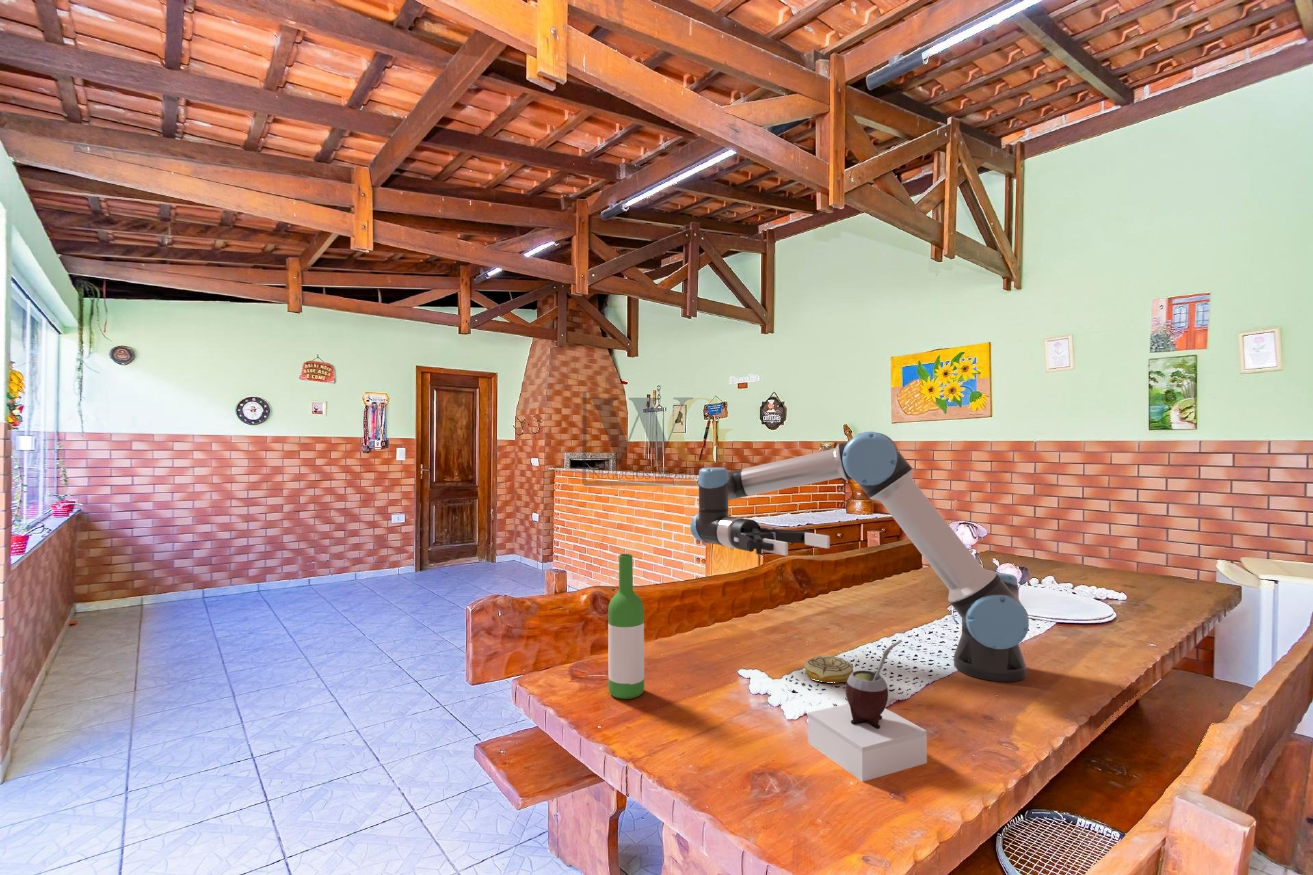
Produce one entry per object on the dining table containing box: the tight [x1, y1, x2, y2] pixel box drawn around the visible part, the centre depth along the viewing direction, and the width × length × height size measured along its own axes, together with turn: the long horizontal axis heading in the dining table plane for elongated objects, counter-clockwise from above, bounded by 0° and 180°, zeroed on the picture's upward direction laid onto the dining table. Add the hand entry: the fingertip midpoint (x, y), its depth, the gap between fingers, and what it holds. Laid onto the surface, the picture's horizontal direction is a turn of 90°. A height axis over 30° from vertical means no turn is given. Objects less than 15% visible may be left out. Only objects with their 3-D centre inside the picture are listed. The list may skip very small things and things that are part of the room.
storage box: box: [807, 703, 928, 783], centre depth 111 cm, size 14×14×6 cm
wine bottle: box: [607, 553, 645, 700], centre depth 136 cm, size 8×8×30 cm
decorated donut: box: [804, 655, 854, 684], centre depth 145 cm, size 10×11×4 cm
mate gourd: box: [845, 639, 903, 729], centre depth 111 cm, size 8×8×15 cm
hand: (808, 545), depth 136 cm, fingers open, 13 cm apart
